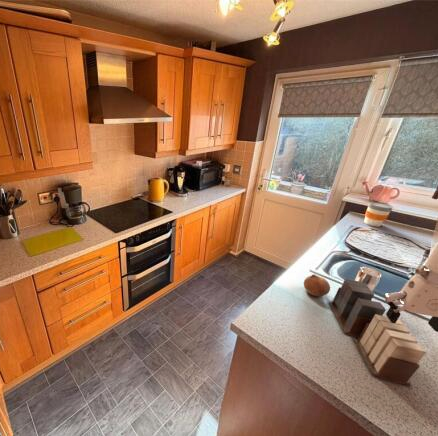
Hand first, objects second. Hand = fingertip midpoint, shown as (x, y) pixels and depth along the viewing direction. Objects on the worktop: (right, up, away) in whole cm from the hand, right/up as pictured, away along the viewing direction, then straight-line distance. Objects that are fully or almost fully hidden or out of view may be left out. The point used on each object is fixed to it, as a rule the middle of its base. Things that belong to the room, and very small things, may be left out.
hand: (411, 323), depth 67 cm
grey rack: (+3, -10, +24) cm, 26 cm away
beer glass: (+15, -5, +34) cm, 38 cm away
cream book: (-1, -16, +8) cm, 18 cm away
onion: (-1, -4, +37) cm, 38 cm away
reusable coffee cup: (+89, +27, +102) cm, 138 cm away
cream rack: (0, -17, +9) cm, 19 cm away
